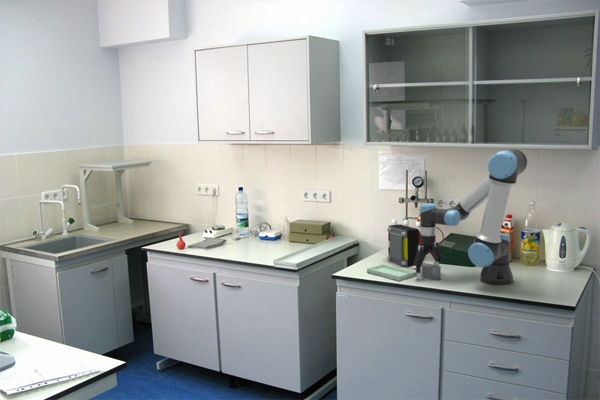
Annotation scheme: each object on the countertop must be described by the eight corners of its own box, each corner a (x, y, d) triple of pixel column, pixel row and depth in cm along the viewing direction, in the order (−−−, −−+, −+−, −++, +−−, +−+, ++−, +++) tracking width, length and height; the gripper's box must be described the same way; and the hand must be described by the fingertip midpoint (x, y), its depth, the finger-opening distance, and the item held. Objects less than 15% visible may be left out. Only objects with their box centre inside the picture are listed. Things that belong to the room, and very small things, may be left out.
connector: (442, 278, 278) (442, 266, 277) (436, 280, 275) (436, 268, 274) (415, 272, 291) (415, 260, 290) (409, 274, 288) (409, 262, 287)
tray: (415, 276, 283) (415, 271, 283) (399, 281, 276) (399, 276, 276) (382, 268, 300) (382, 264, 300) (366, 272, 293) (366, 268, 293)
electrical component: (386, 260, 316) (385, 225, 313) (401, 258, 320) (400, 223, 317) (404, 267, 300) (404, 231, 297) (420, 265, 304) (419, 229, 302)
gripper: (437, 229, 289) (437, 270, 292) (405, 237, 274) (405, 279, 277) (449, 231, 283) (449, 273, 287) (417, 239, 268) (417, 283, 271)
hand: (427, 276), depth 282 cm, fingers open, 12 cm apart
